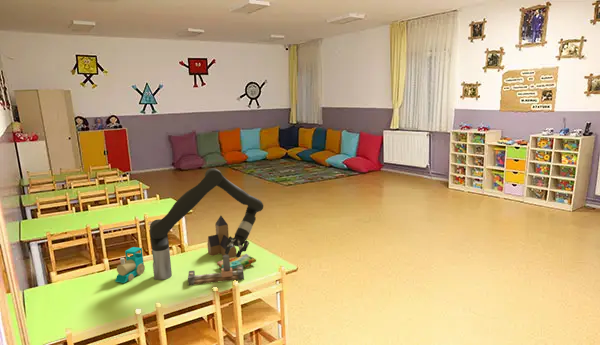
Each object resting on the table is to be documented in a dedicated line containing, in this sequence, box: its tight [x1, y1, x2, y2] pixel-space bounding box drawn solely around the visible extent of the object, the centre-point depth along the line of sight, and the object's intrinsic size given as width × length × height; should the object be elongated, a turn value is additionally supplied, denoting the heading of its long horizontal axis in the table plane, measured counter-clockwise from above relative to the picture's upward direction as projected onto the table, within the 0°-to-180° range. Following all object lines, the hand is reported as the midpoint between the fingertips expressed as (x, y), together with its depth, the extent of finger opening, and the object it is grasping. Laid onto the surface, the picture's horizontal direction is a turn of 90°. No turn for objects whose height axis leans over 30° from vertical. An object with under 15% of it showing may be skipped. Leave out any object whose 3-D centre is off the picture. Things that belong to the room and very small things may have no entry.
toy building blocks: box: [206, 215, 238, 258], centre depth 259 cm, size 12×19×25 cm, turn 31°
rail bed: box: [187, 265, 245, 286], centre depth 228 cm, size 30×9×5 cm, turn 101°
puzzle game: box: [216, 253, 257, 271], centre depth 244 cm, size 12×5×20 cm
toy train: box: [114, 246, 146, 284], centre depth 233 cm, size 8×17×15 cm, turn 161°
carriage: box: [220, 255, 233, 277], centre depth 229 cm, size 6×6×11 cm
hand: (231, 255), depth 232 cm, fingers open, 8 cm apart
